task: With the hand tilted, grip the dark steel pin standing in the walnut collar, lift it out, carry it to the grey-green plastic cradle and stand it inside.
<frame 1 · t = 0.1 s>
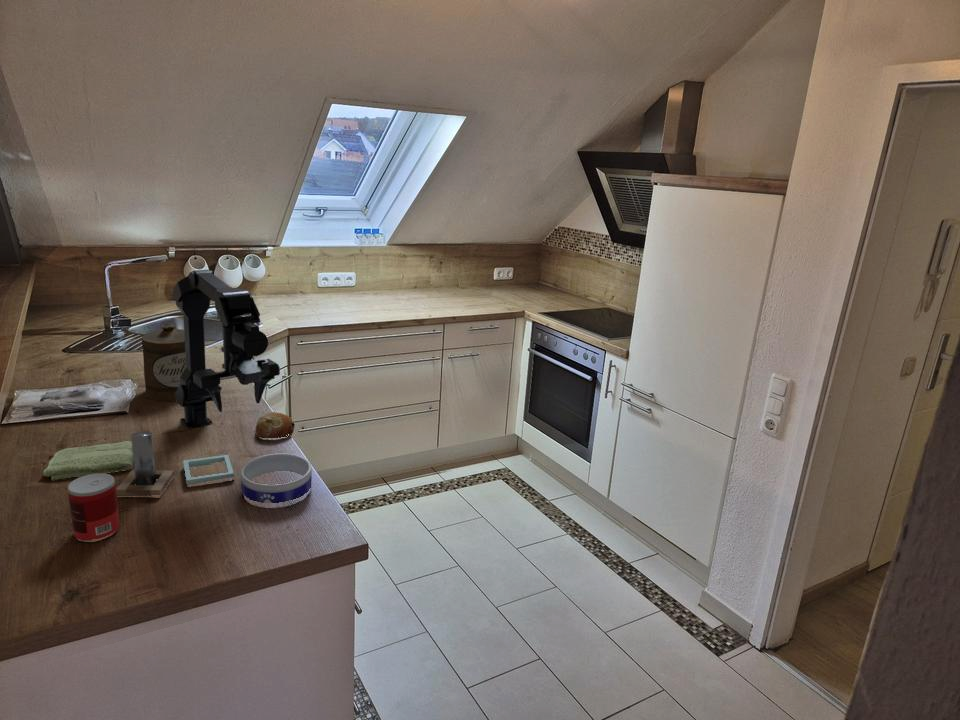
hand: (239, 406, 153), 15 cm above the worktop, tool pointing down, fingers open, 9 cm apart
cradle tray: (208, 474, 151), on the worktop
dog bowl: (277, 492, 146), on the worktop
walnut collar: (146, 487, 143), on the worktop
canned food: (97, 533, 127), on the worktop
bread roll: (275, 434, 175), on the worktop
wooden container: (173, 393, 196), on the worktop
steel pin: (144, 461, 141), in the walnut collar
washcloth: (93, 466, 151), on the worktop
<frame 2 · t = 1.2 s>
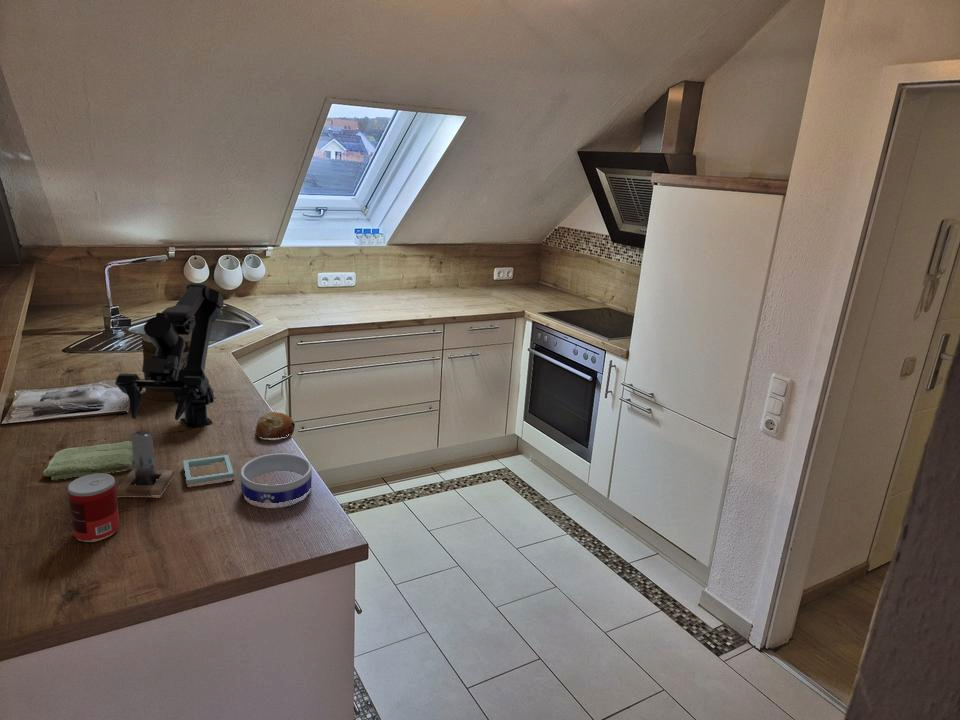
hand: (155, 418, 146), 13 cm above the worktop, tool tilted 45°, fingers open, 9 cm apart
nothing on the worktop moved.
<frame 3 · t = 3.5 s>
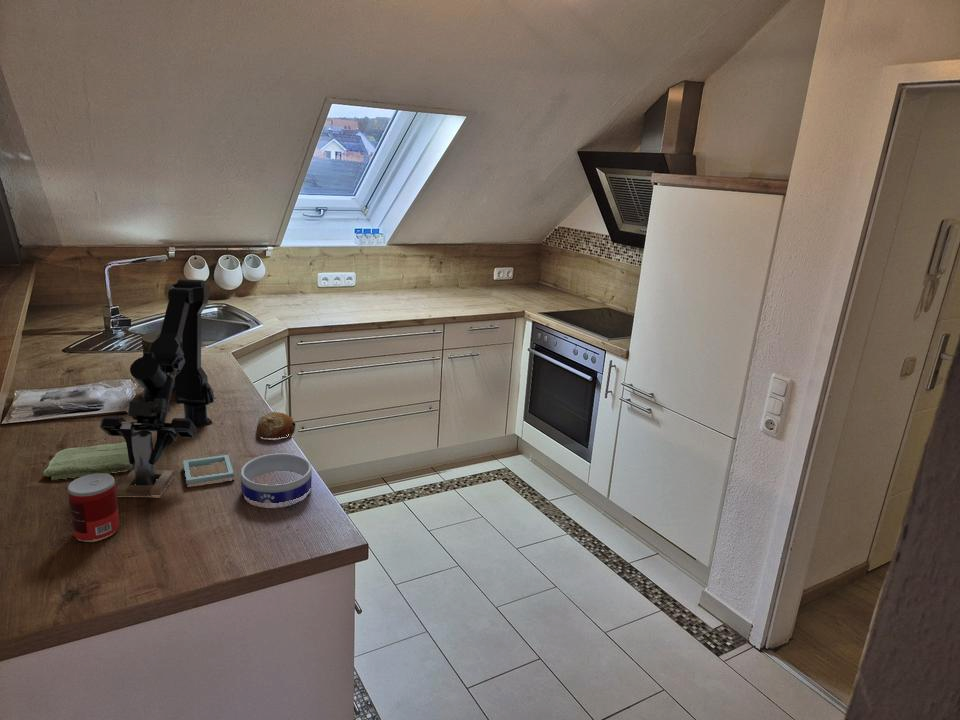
hand: (141, 464, 140), 7 cm above the worktop, tool tilted 45°, fingers closed on steel pin, 4 cm apart
steel pin: (144, 461, 141), in the walnut collar, touching gripper
everything else where it was.
when the fingers open (8 cm above the worktop, at t = 6.7 s): steel pin stays where it is, resting on cradle tray.
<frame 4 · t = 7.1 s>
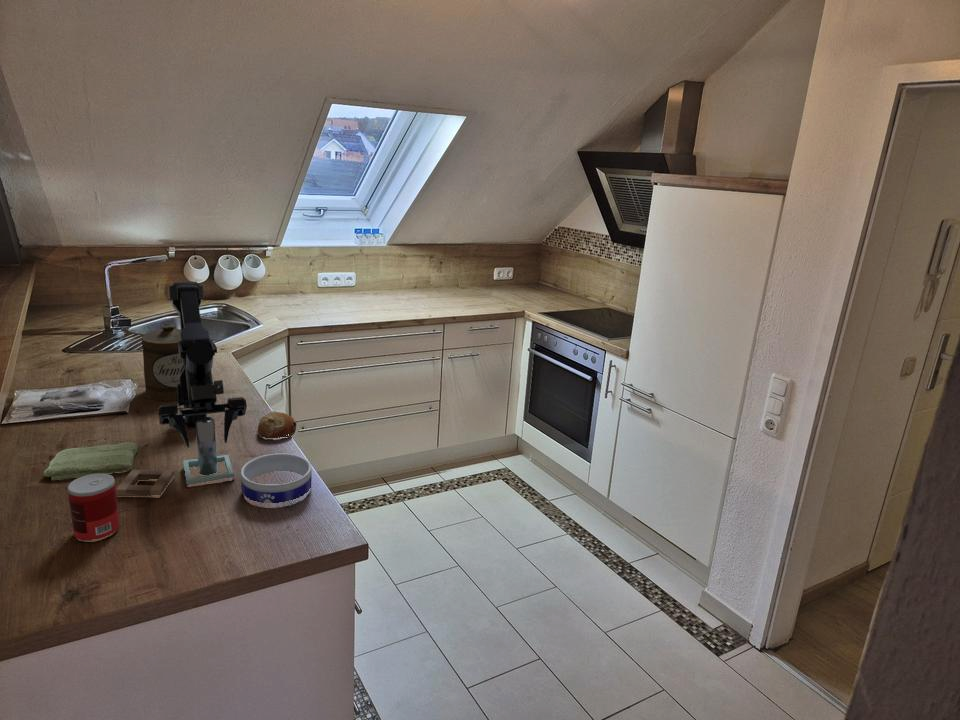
hand: (207, 444, 147), 8 cm above the worktop, tool tilted 45°, fingers open, 8 cm apart
steel pin: (206, 446, 149), in the cradle tray, point 7 cm above the worktop
everything else where it was.
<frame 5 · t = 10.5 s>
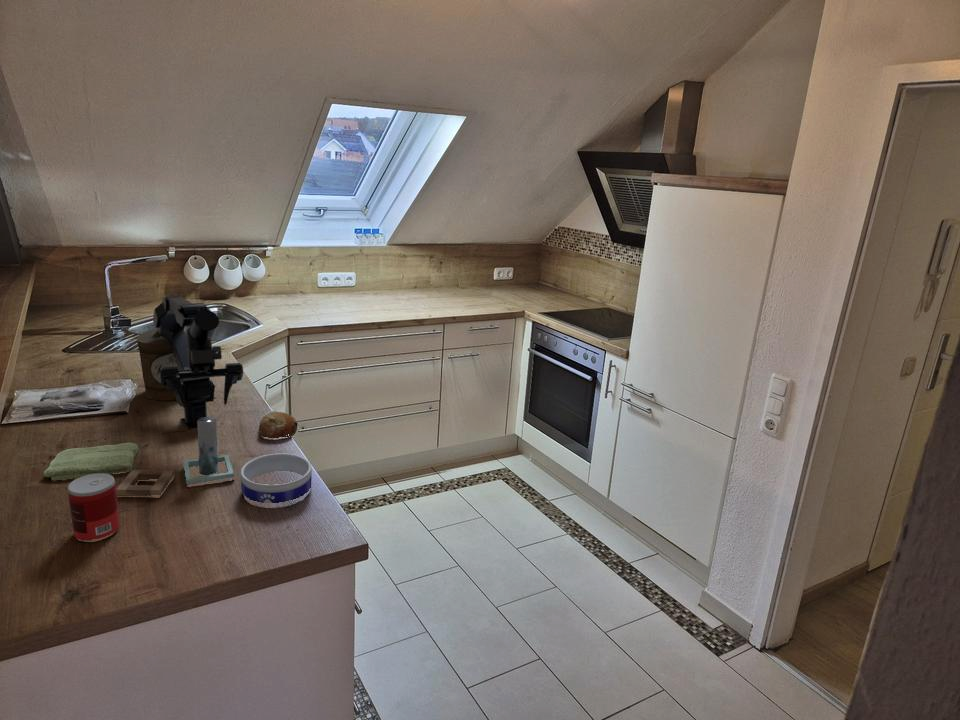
hand: (205, 406, 157), 13 cm above the worktop, tool tilted 40°, fingers open, 9 cm apart
wooden container: (173, 391, 195), on the worktop, touching arm
everything else where it was.
at the end: steel pin inside the target area on the cradle tray (0.1 cm from its centre), point 7.4 cm above the cradle tray's base; steel pin tilted 2°; the gripper is holding nothing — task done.
